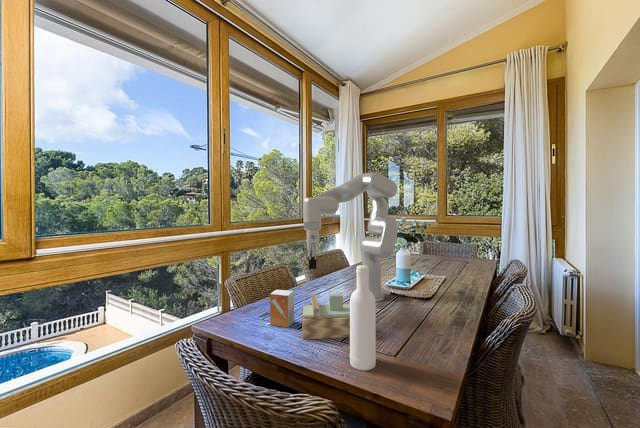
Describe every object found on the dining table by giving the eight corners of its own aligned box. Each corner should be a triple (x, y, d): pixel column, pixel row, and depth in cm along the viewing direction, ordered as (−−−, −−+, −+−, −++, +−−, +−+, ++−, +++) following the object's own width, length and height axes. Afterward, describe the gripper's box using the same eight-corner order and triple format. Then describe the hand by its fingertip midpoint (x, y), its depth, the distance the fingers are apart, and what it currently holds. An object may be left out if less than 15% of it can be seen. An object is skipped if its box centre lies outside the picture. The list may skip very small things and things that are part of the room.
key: (316, 301, 120) (316, 294, 119) (319, 317, 104) (319, 308, 104) (311, 301, 119) (311, 294, 119) (313, 317, 104) (313, 309, 103)
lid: (350, 306, 118) (350, 290, 118) (356, 316, 108) (356, 298, 107) (302, 308, 116) (302, 291, 116) (303, 318, 106) (302, 300, 106)
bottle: (346, 367, 87) (346, 268, 86) (353, 354, 94) (352, 262, 93) (373, 373, 84) (373, 270, 83) (378, 359, 91) (378, 264, 90)
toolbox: (350, 321, 121) (350, 301, 120) (358, 338, 106) (357, 315, 105) (302, 323, 119) (301, 303, 119) (302, 340, 104) (302, 317, 104)
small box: (269, 325, 117) (269, 293, 117) (276, 319, 123) (276, 289, 123) (288, 328, 115) (288, 295, 114) (294, 321, 121) (294, 290, 120)
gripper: (322, 227, 118) (322, 272, 118) (319, 224, 132) (319, 264, 133) (304, 227, 117) (304, 273, 118) (303, 224, 132) (303, 265, 133)
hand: (312, 268), depth 125 cm, fingers closed
